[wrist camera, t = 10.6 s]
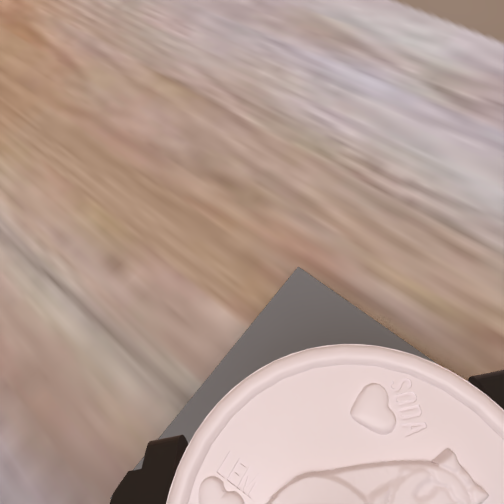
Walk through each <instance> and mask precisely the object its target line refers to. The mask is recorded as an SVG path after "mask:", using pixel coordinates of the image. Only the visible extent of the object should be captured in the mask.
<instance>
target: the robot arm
mask: <svg viewBox="0 0 504 504" xmlns="http://www.w3.org/2000/svg"><path fill="white" fill-rule="evenodd" d="M468 382H470V383H471V384H472V385H474V386H475V387H476V388H478V389H479V390H481V391H482V392H483V393H485V394H486V395H487V396H488V397H490V398H491V399H492V400H493V401H494V402H495V403H497V404H498V405H499V406H500V407H501V408H502V409H503V410H504V370H501V371H496V372H491V373H486V374H481V375H476V376H471V377H470V378H469V380H468ZM187 446H188V442H187V440H186V438H185V436H184V435H178V436H173V437H168V438H163V439H159V440H154V441H150V442H149V443H148V445H147V448H146V452H145V456H144V460H143V464H142V468H141V469H137V470H133V471H128V473H127V474H126V476H125V477H124V478H123V480H122V481H121V483H120V484H119V486H118V487H117V489H116V490H115V492H114V493H113V495H112V498H111V502H110V504H166V502H167V498H168V494H169V491H170V487H171V484H172V481H173V479H174V476H175V473H176V470H177V467H178V465H179V463H180V461H181V459H182V457H183V454H184V452H185V450H186V448H187Z"/></svg>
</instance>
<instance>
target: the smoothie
mask: <svg viewBox="0 0 504 504" xmlns="http://www.w3.org/2000/svg"><path fill="white" fill-rule="evenodd" d="M166 504H504V410H503V409H502V408H501V407H500V406H499V405H498V404H497V403H495V402H494V401H493V400H492V399H491V398H490V397H488V396H487V395H486V394H485V393H483V392H482V391H481V390H479V389H478V388H476V387H475V386H474V385H472V384H471V383H470V382H468V381H466V380H465V379H463V378H461V377H460V376H458V375H457V374H455V373H453V372H452V371H450V370H448V369H446V368H444V367H442V366H440V365H438V364H436V363H434V362H431V361H429V360H426V359H424V358H421V357H419V356H416V355H413V354H410V353H406V352H403V351H400V350H396V349H391V348H386V347H381V346H374V345H364V344H337V345H326V346H320V347H315V348H310V349H306V350H302V351H299V352H296V353H292V354H289V355H287V356H285V357H282V358H280V359H277V360H275V361H273V362H271V363H269V364H267V365H265V366H264V367H262V368H260V369H258V370H257V371H255V372H254V373H252V374H251V375H249V376H248V377H246V378H245V379H244V380H242V381H241V382H240V383H239V384H237V385H236V386H235V387H234V388H232V389H231V390H230V391H229V392H228V393H227V394H226V395H225V396H224V397H223V398H222V399H221V400H220V401H219V402H218V403H217V404H216V406H215V407H214V408H213V409H212V410H211V412H210V413H209V414H208V415H207V416H206V418H205V419H204V421H203V422H202V424H201V425H200V426H199V428H198V429H197V431H196V432H195V434H194V436H193V437H192V439H191V441H190V443H189V445H188V446H187V448H186V450H185V452H184V454H183V457H182V459H181V461H180V463H179V465H178V467H177V470H176V473H175V476H174V479H173V481H172V484H171V487H170V491H169V494H168V498H167V502H166Z"/></svg>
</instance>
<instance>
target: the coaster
mask: <svg viewBox="0 0 504 504" xmlns="http://www.w3.org/2000/svg"><path fill="white" fill-rule="evenodd" d="M337 344H364V345H374V346H381V347H386V348H391V349H396V350H400V351H403V352H406V353H410V354H413V355H416V356H419V357H421V358H424V359H426V360H429V361H431V362H434V361H432V360H431V359H429V358H428V357H427V356H425V355H424V354H422V353H421V352H419V351H418V350H417V349H415V348H414V347H412V346H411V345H409V344H408V343H407V342H405V341H404V340H402V339H401V338H399V337H398V336H397V335H395V334H394V333H392V332H391V331H389V330H388V329H387V328H385V327H384V326H382V325H381V324H379V323H378V322H377V321H375V320H374V319H372V318H371V317H369V316H368V315H367V314H365V313H364V312H362V311H361V310H359V309H358V308H357V307H355V306H354V305H352V304H351V303H349V302H348V301H347V300H345V299H344V298H342V297H341V296H339V295H338V294H337V293H335V292H334V291H332V290H331V289H329V288H328V287H327V286H325V285H324V284H322V283H321V282H319V281H318V280H317V279H315V278H314V277H312V276H311V275H309V274H308V273H307V272H305V271H304V270H302V269H301V268H299V267H298V268H297V269H296V270H295V271H294V272H293V274H292V275H291V276H290V277H289V279H288V280H287V281H286V282H285V284H284V285H283V286H282V287H281V288H280V290H279V291H278V292H277V293H276V295H275V296H274V297H273V298H272V300H271V301H270V302H269V303H268V304H267V306H266V307H265V308H264V309H263V311H262V312H261V313H260V314H259V316H258V317H257V318H256V319H255V321H254V322H253V323H252V324H251V325H250V327H249V328H248V329H247V330H246V332H245V333H244V334H243V335H242V337H241V338H240V339H239V340H238V341H237V343H236V344H235V345H234V346H233V348H232V349H231V350H230V351H229V353H228V354H227V355H226V356H225V357H224V359H223V360H222V361H221V362H220V364H219V365H218V366H217V367H216V369H215V370H214V371H213V372H212V373H211V375H210V376H209V377H208V378H207V380H206V381H205V382H204V383H203V385H202V386H201V387H200V388H199V389H198V391H197V392H196V393H195V394H194V396H193V397H192V398H191V399H190V401H189V402H188V403H187V404H186V405H185V407H184V408H183V409H182V410H181V412H180V413H179V414H178V415H177V417H176V418H175V419H174V420H173V421H172V423H171V424H170V425H169V426H168V428H167V429H166V430H165V431H164V433H163V434H162V435H161V436H160V437H159V439H163V438H168V437H173V436H178V435H184V436H185V438H186V440H187V442H188V445H189V443H190V441H191V439H192V437H193V436H194V434H195V432H196V431H197V429H198V428H199V426H200V425H201V424H202V422H203V421H204V419H205V418H206V416H207V415H208V414H209V413H210V412H211V410H212V409H213V408H214V407H215V406H216V404H217V403H218V402H219V401H220V400H221V399H222V398H223V397H224V396H225V395H226V394H227V393H228V392H229V391H230V390H231V389H232V388H234V387H235V386H236V385H237V384H239V383H240V382H241V381H242V380H244V379H245V378H246V377H248V376H249V375H251V374H252V373H254V372H255V371H257V370H258V369H260V368H262V367H264V366H265V365H267V364H269V363H271V362H273V361H275V360H277V359H280V358H282V357H285V356H287V355H289V354H292V353H296V352H299V351H302V350H306V349H310V348H315V347H320V346H326V345H337ZM434 363H435V362H434ZM436 364H437V363H436ZM159 439H158V440H159ZM143 460H144V457H143V458H142V460H141V461H140V462H139V463H138V465H137V466H136V467H135V468H134V469H133V470H137V469H141V468H142V464H143ZM111 498H112V497H111ZM111 498H110V499H111Z"/></svg>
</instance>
